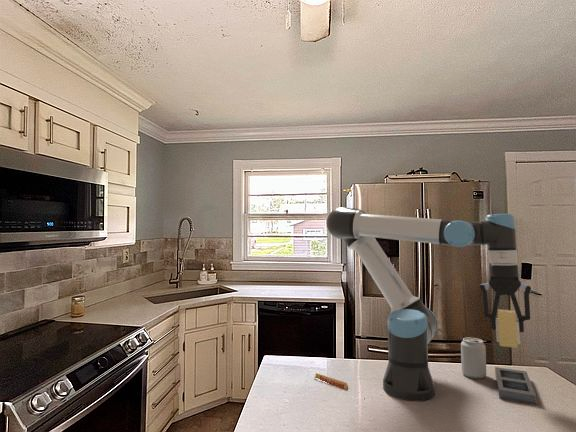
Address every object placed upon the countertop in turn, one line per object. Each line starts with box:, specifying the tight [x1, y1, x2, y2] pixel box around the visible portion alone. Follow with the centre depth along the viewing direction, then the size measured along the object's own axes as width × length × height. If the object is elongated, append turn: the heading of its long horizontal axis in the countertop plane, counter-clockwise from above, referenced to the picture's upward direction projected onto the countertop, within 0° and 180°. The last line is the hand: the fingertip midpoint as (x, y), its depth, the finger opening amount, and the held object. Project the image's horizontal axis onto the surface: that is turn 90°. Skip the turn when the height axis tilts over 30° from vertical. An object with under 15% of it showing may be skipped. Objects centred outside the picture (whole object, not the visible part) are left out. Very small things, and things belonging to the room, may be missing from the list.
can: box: [460, 337, 487, 380], centre depth 123 cm, size 8×8×12 cm
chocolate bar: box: [314, 372, 349, 391], centre depth 116 cm, size 3×12×2 cm, turn 47°
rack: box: [494, 366, 537, 406], centre depth 112 cm, size 9×20×2 cm, turn 153°
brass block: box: [497, 308, 518, 349], centre depth 109 cm, size 4×4×10 cm
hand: (508, 341), depth 109 cm, fingers closed on brass block, 4 cm apart
